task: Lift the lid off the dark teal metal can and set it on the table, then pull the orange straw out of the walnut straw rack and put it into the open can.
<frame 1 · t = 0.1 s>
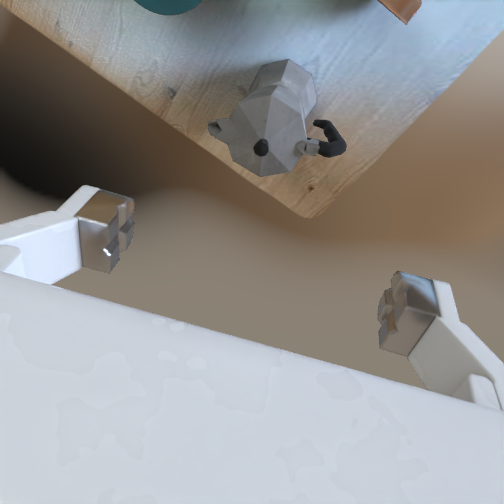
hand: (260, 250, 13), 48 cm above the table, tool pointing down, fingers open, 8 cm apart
coffeepot: (291, 95, 57), on the table
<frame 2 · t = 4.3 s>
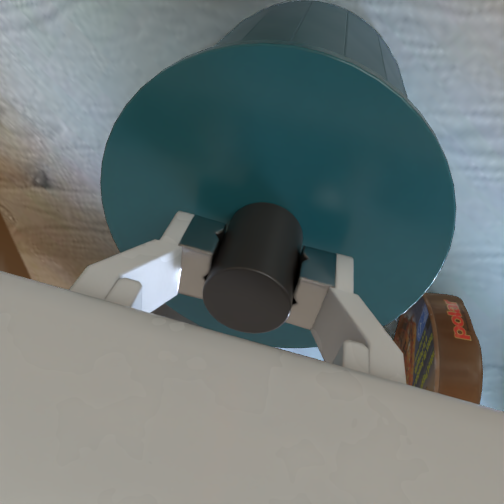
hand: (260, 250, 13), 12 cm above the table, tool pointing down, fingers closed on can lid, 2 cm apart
tin: (414, 342, 31), on the table
coffeepot: (204, 336, 35), on the table
can: (299, 112, 22), on the table
can lid: (268, 225, 14), point 11 cm above the table, touching can, gripper
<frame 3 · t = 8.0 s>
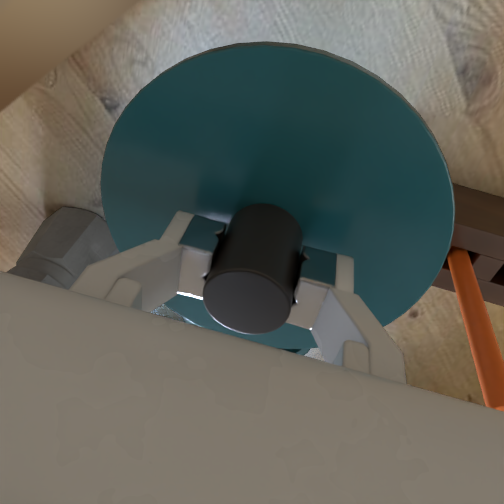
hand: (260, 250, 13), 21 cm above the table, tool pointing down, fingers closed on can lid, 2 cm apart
straw: (467, 289, 27), in the straw rack
straw rack: (445, 215, 34), on the table
coffeepot: (84, 247, 45), on the table
can lid: (267, 226, 14), point 20 cm above the table, touching gripper
when the fingers open (2 cm above the table, at t = 11.7 s): can lid stays where it is, point 1 cm above the table.
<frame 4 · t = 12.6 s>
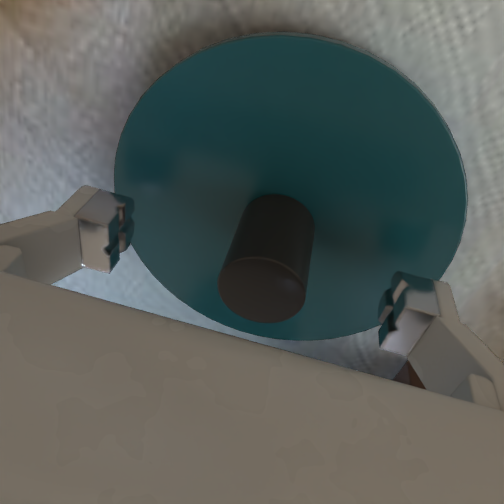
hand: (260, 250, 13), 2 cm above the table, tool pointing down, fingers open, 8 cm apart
can lid: (279, 217, 14), point 1 cm above the table
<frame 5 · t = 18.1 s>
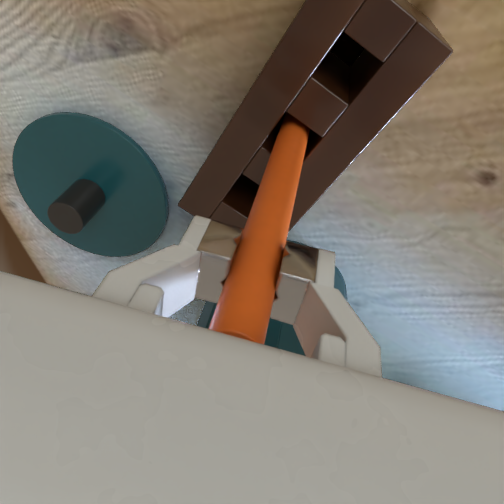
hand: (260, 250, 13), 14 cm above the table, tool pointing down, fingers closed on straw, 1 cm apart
straw: (282, 173, 17), in the straw rack, touching gripper
straw rack: (303, 99, 24), on the table
can: (280, 291, 33), on the table
can lid: (92, 190, 30), point 1 cm above the table
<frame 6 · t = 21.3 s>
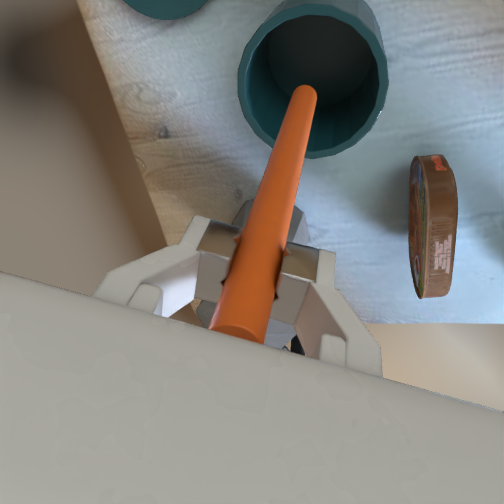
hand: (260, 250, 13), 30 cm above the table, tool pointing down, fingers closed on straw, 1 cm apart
tin: (424, 206, 44), on the table
straw: (283, 170, 17), point 25 cm above the table, touching gripper
coffeepot: (277, 234, 50), on the table
can: (320, 52, 37), on the table
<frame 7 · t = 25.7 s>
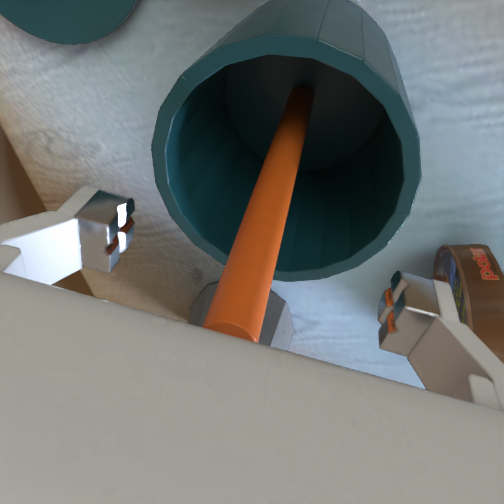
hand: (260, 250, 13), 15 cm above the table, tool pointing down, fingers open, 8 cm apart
tin: (453, 300, 32), on the table
straw: (279, 170, 17), in the can, point 10 cm above the table
coffeepot: (251, 322, 38), on the table
can: (304, 94, 24), on the table
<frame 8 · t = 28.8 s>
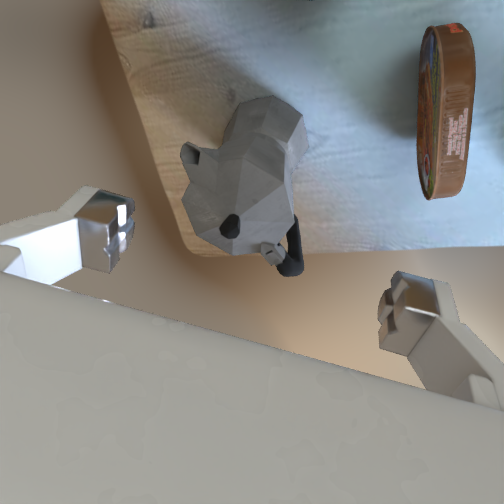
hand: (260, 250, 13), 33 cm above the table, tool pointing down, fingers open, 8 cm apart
tin: (434, 101, 40), on the table
coffeepot: (273, 144, 46), on the table
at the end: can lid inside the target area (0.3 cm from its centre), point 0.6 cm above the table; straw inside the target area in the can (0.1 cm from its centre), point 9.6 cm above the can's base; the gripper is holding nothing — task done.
